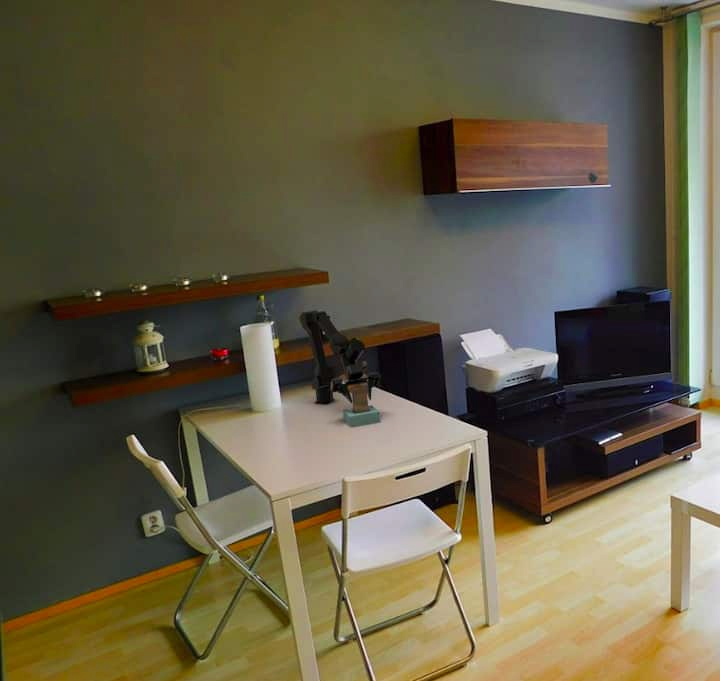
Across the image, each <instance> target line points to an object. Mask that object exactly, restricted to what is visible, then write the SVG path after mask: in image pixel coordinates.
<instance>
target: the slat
mask: <svg viewBox="0 0 720 681" xmlns="http://www.w3.org/2000/svg"><path fill="white" fill-rule="evenodd" d="M351 398H352V408H353V411H354V414H356V413H362V412H368V406H369V398H368V395H367V388H366V387H365V386H360V387H354V388H352V393H351Z"/></svg>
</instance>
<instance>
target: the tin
mask: <svg viewBox="0 0 720 681" xmlns="http://www.w3.org/2000/svg"><path fill="white" fill-rule="evenodd" d="M361 377H362V378H367V377H368V375H367V374H365V373H363V376H361ZM338 378H342V380H345V381H347V378H346V376H345V373H344V374H341V375H339V377H338ZM360 386H365V387H366V383H362V384H356V385H349V386H348V390H349V393H350V394H352V388H354V387H360Z"/></svg>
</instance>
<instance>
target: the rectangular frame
mask: <svg viewBox="0 0 720 681" xmlns="http://www.w3.org/2000/svg"><path fill="white" fill-rule="evenodd" d="M342 412H343V414H342V415H343V420H344V422H346V424H347V425H348V426H349V427H350V428H353V427H359V426H364V425H365V426H366V425H369V424H370V425H371V423H372V424H377V423H380V422H381V414H380V411H379V410H378V409H377V407H375V406H374V405H372V404H371V405H368V412H362V413H356V414H354V411H353V407H352V408H347V409H343V410H342Z"/></svg>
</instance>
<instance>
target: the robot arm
mask: <svg viewBox="0 0 720 681" xmlns="http://www.w3.org/2000/svg"><path fill="white" fill-rule="evenodd" d="M327 314H328V313H327V312H326V311H323V310H321V311H318V310H317V309H314V310H308V311H302V312H301V314H300V316H299V322H300V324H301V327H302V328H303V330H304V331H305V332H306V333H307V335H308V339H309V342H310V348H311V352H312V356H313V360H314V364H315V367H314V371H313V377H314V378H313V380H312V381H311V384H310V385H311V389H312V390H314V391H315V398H316V401H314V404H322V405H327V404H330V403H332V402H334V401H335V400H336V399H335V398H334V393H338V394H341V395H342V396H343V397H344V398H345V399H347V401H348V402H350V404H353V399H352V394H351V393H349V390H348V386H349V385H356V384H362V383H366V388H367V399H368V401H371V400H372V389H373V388H374V387H376V386H377V387H378V385H379V384H380V380H381V378H382V377H381V374H380V373H379V372H377V371H376V372H371V373H368V375H367V376H368V377H367V378H362V377H361V376H363V374H364V372H365V371H367V370H368V369H369V366H368V363H367V361H366V360H365V361H361V362H360V363H358V360H359V358H360V357H361V356H362V354H363V353H364V351H365V348H366V345H365V343H364V342H363V341H362V340H359V339H357V337H351V338H350V339H349V338H348V337H347V336H346V335H344V334H342V333H340V332H339V331H338V329H337V328H336V326H335V325H334V323H333V322H332V321H331V320H330V318H329V317H328V315H327ZM320 329H321V331H322V333H324V335H325V336H326V338H327V340H328V341H329V348H330V350H331V352H332V354H333V355H334V356H340V355H341V357H340V359H339V364H342V367H343V371H344V374H345V376H346V378H347V381H345V380H342V378H339V377H338V378H336V373H335V370H334V367H333V366H332V365H331V366H330V364H328V362H327V361H328V360H327V357H326V352H325V348H324V345H323V340H322V338H321V337H322V336H321V333H320Z"/></svg>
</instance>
